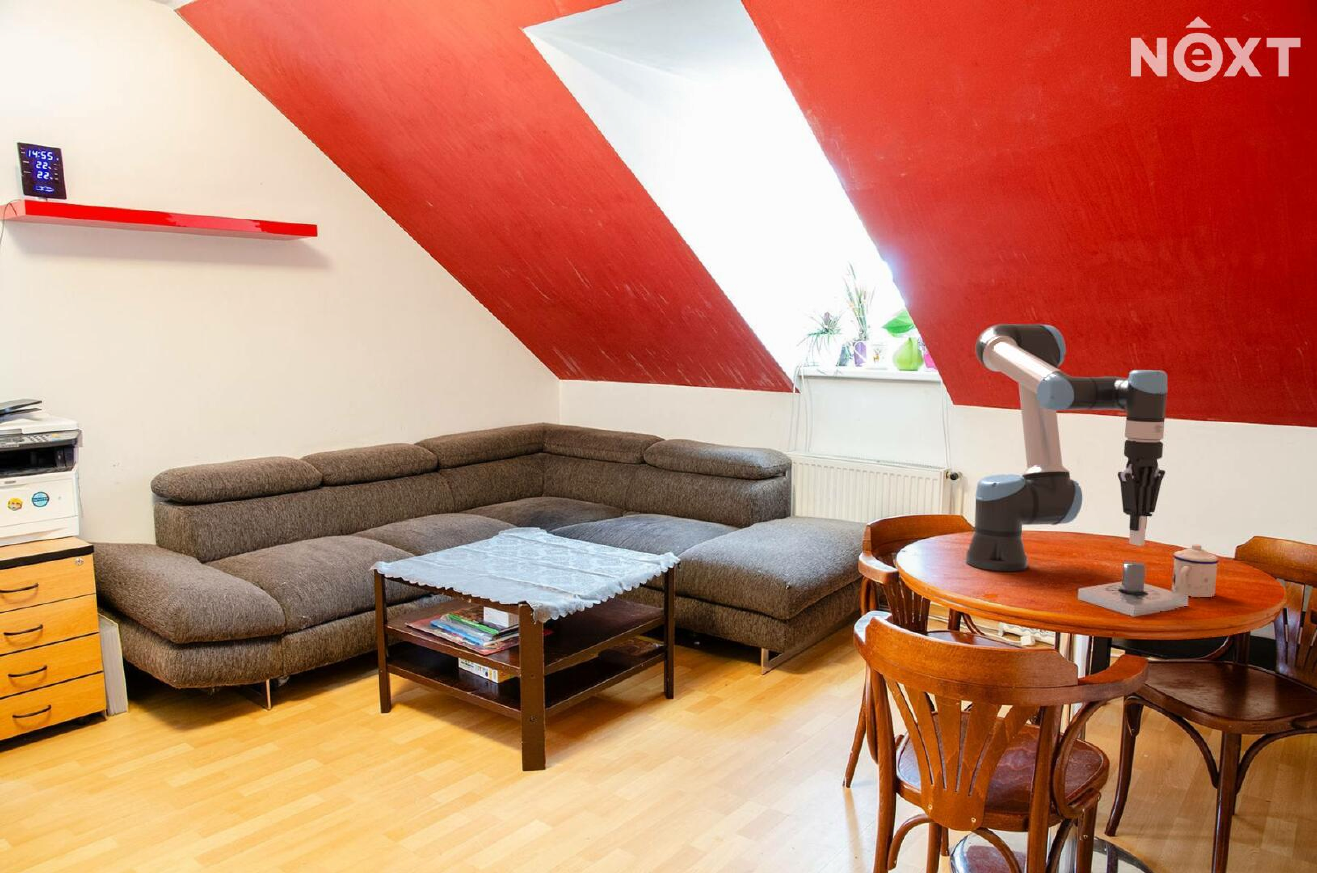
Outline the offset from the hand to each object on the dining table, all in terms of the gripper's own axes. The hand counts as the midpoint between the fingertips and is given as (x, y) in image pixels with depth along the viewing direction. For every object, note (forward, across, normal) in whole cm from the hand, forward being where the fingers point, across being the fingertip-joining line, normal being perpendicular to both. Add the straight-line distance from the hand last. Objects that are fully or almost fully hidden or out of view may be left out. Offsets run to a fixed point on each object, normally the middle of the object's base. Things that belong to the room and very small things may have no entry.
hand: (1136, 544), depth 201 cm
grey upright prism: (+14, 0, 0) cm, 14 cm away
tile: (+14, 0, 0) cm, 14 cm away
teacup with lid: (+14, +19, -1) cm, 23 cm away
